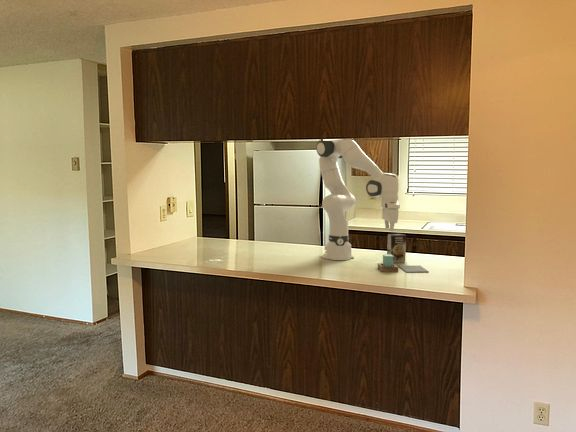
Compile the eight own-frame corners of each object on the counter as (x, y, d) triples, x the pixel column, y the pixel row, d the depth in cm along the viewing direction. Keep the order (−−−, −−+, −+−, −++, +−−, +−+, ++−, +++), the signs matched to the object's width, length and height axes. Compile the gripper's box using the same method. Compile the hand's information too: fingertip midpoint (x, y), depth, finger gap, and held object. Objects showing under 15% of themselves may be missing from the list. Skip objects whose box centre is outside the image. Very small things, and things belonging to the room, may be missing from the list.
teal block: (382, 268, 267) (383, 254, 266) (390, 268, 267) (391, 254, 266) (384, 270, 262) (385, 256, 261) (393, 270, 262) (393, 256, 261)
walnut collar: (377, 268, 269) (377, 263, 268) (393, 267, 269) (393, 263, 269) (381, 271, 260) (381, 267, 260) (398, 271, 260) (398, 267, 260)
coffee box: (390, 263, 281) (391, 235, 279) (386, 260, 287) (387, 233, 285) (405, 262, 283) (406, 235, 281) (401, 260, 289) (401, 233, 287)
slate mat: (398, 266, 272) (398, 265, 272) (420, 266, 273) (420, 265, 272) (406, 272, 258) (406, 271, 258) (428, 272, 259) (428, 271, 259)
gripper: (379, 202, 270) (379, 227, 272) (388, 205, 250) (387, 232, 252) (390, 202, 271) (390, 226, 272) (400, 205, 250) (400, 232, 252)
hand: (389, 229), depth 262 cm, fingers open, 8 cm apart
